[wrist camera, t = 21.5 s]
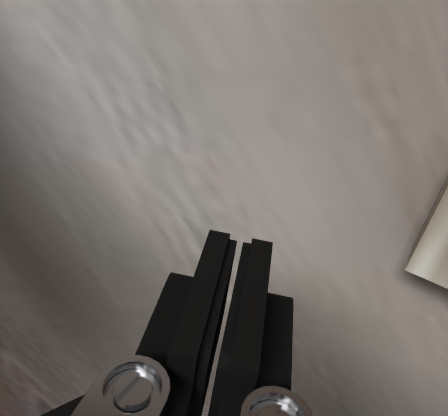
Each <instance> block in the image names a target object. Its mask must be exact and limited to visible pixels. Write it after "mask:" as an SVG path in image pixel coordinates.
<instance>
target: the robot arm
mask: <svg viewBox="0 0 448 416" xmlns="http://www.w3.org/2000/svg"><path fill="white" fill-rule="evenodd" d="M236 244H237V241H235V240H230V234H228V233H223V232H218V231H213V230H210V231H209V234H208V237H207V239H206V242H205V245H204V248H203V251H202V254H201V257H200V260H199V263H198V266H197V269H196V271H195V274H194V277H191V276H186V275H181V274H176V273H172V272H171V273H170V275H169V277H168V279H167V281H166V283H165V286H164V288H163V290H162V293H161V295H160V297H159V300H158V302H157V305H156V307H155V309H154V312H153V314H152V316H151V319H150V321H149V323H148V326H147V328H146V331H145V333H144V335H143V338H142V340H141V342H140V345H139V347H138V349H137V352H136V354H135V355H132V356H125V357H122V358H119V359H116V360H115V361H113V362H112V363H110V364H108V365H107V366H106V367H105V368H104V369H103V370H102V371H101V372H100V374H99V375H98V377H97V378H96V379H95V381H94V382H93V384H92V385H91V387H90V388H89V390H88V391H87V393H86V394H85V395H83V396H81V397H79V398H77V399H74V400H72V401H70V402H68V403H66V404H64V405H62V406H60V407H58V408H55V409H53V410H51V411H49V412H47V413H45V414H43V415H41V416H201V415H202V410H203V406H204V401H205V397H206V392H207V388H208V383H209V379H210V374H211V370H212V365H213V361H214V356H215V352H216V347H217V343H218V338H219V334H220V329H221V325H222V320H223V315H224V310H225V304H226V299H227V293H228V288H229V282H230V277H231V271H232V266H233V260H234V255H235V249H236ZM272 245H273V243H272V242H268V241H263V240H258V239H253V238H252V242H251V244H250V243H245V242H243V246H242V251H241V256H240V261H239V265H238V270H237V275H236V280H235V284H234V289H233V294H232V299H231V304H230V308H229V313H228V318H227V323H226V327H225V332H224V337H223V342H222V347H221V351H220V356H219V361H218V366H217V371H216V377H215V382H214V387H213V393H212V398H211V403H210V408H209V414H208V416H313V414H312V412H311V410H310V409H309V407H308V406H307V404H306V403H305V401H303V400H302V399H301V398H300V397H299V396H298V395H297V394H295V393H293V392H292V391H291V371H292V334H293V298H290V297H286V296H281V295H276V294H271V293H267V292H268V283H269V273H270V264H271V254H272Z"/></svg>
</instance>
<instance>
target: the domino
mask: <svg viewBox="0 0 448 416" xmlns="http://www.w3.org/2000/svg"><path fill="white" fill-rule="evenodd" d="M405 270H406V271H408V272H410V273H412V274H415V275H417V276H419V277H422V278H424V279H426V280H428V281H431V282H433V283H435V284H438V285H440V286H442V287H444V288H447V289H448V178H447V180H446V182H445V184H444V186H443V188H442V190H441V192H440V194H439V196H438V198H437V200H436V202H435V204H434V206H433V208H432V210H431V212H430V214H429V216H428V218H427V220H426V222H425V224H424V226H423V228H422V230H421V232H420V234H419V236H418V238H417V240H416V242H415V244H414V246H413V248H412V251H411V254H410V257H409V260H408V263H407V266H406V269H405Z"/></svg>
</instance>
